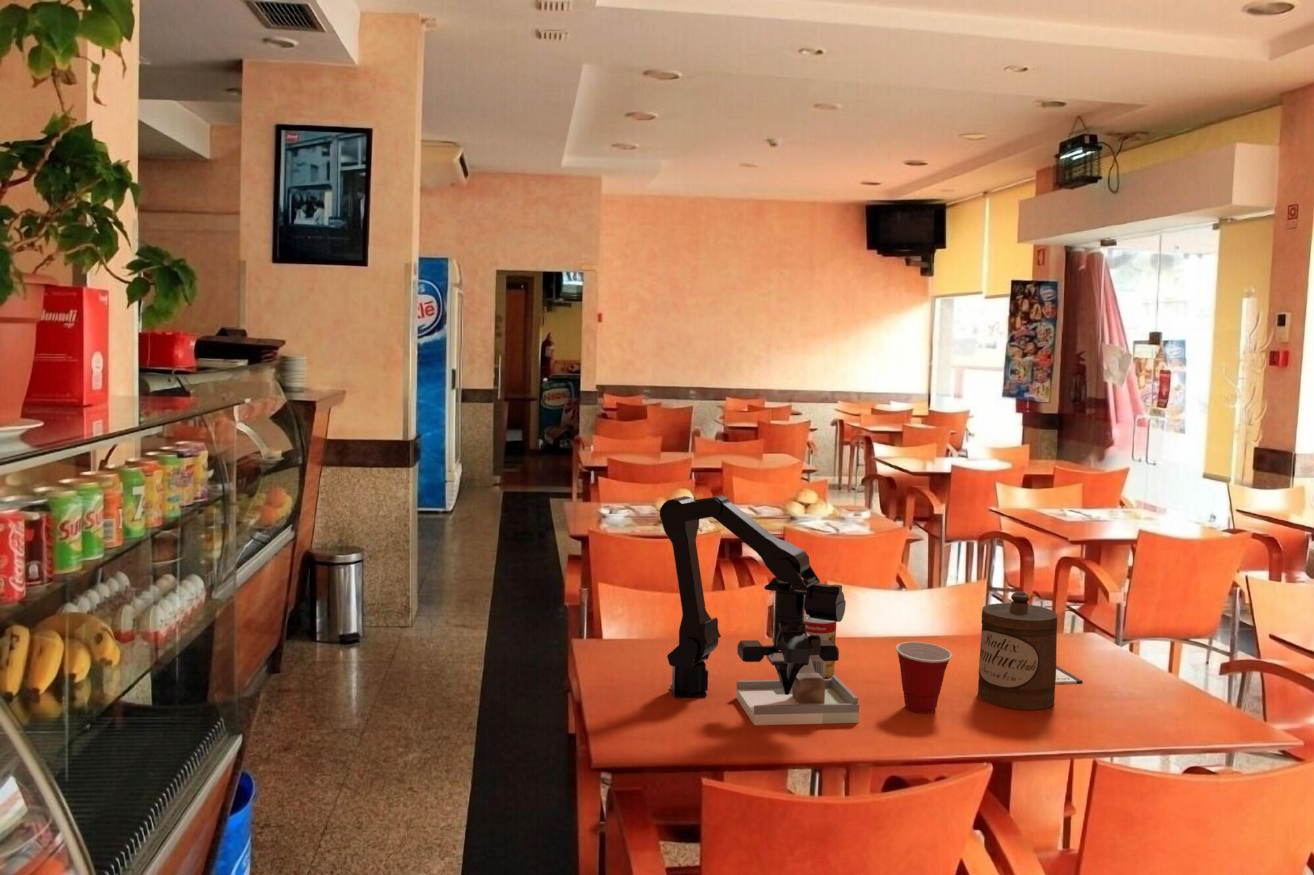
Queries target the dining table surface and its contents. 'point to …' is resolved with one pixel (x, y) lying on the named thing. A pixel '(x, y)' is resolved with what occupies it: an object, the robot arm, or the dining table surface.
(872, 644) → the dining table surface
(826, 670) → the canned food
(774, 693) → the box
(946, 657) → the plastic cup
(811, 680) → the walnut block
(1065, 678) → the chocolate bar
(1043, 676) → the wooden container
